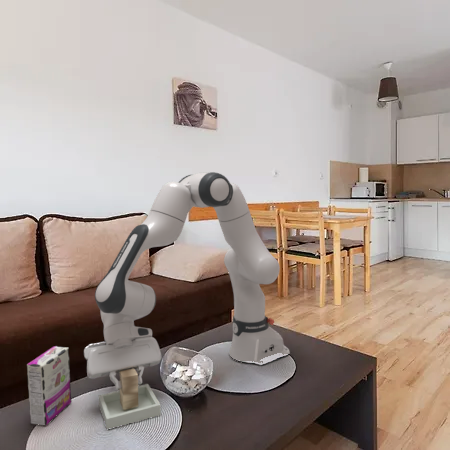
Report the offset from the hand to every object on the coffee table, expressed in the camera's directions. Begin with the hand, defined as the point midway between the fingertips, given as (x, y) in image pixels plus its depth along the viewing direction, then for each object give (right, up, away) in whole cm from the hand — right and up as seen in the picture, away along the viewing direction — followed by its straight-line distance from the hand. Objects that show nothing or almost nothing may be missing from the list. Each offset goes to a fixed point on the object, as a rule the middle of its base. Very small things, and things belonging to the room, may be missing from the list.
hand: (129, 386), depth 103 cm
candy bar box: (-21, -7, 0) cm, 22 cm away
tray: (0, -7, +1) cm, 7 cm away
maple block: (0, -5, +1) cm, 5 cm away
